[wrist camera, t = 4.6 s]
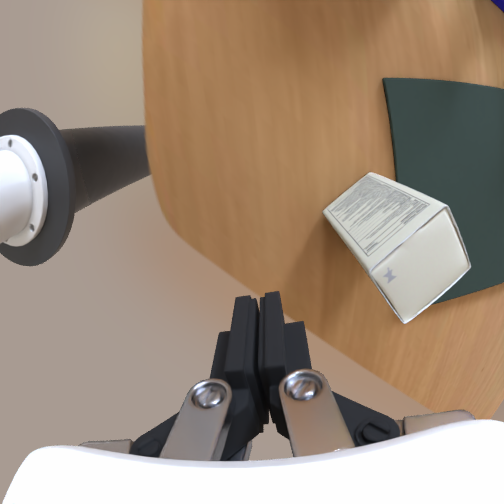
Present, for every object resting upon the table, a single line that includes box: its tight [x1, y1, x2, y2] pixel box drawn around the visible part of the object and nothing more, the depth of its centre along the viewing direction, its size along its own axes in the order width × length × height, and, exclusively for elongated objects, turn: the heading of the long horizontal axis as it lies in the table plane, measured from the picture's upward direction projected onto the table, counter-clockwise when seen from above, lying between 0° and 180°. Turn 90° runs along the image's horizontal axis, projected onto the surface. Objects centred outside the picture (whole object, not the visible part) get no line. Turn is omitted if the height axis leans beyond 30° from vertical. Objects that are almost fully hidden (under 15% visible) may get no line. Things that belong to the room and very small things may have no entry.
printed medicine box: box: [323, 172, 471, 324], centre depth 17 cm, size 5×4×10 cm
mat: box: [382, 78, 504, 305], centre depth 20 cm, size 16×20×1 cm
